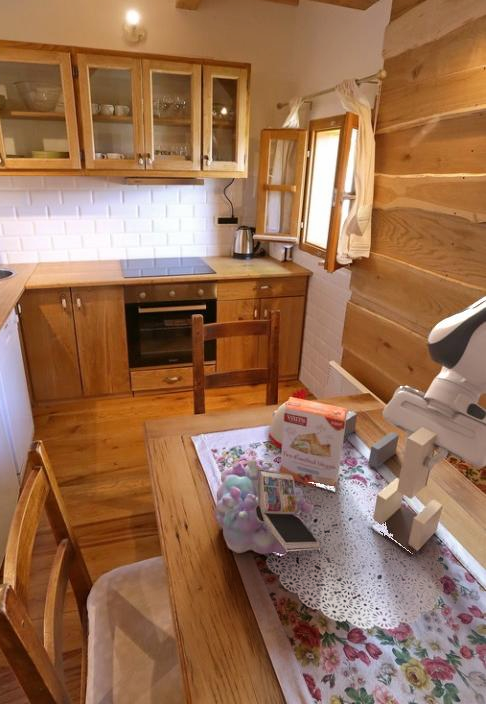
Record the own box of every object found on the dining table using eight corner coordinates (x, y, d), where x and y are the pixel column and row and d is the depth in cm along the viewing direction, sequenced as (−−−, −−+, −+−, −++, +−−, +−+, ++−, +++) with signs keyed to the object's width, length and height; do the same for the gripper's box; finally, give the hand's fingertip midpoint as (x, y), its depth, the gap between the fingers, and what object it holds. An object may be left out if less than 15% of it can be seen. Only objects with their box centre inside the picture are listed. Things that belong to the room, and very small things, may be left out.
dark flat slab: (435, 531, 88) (436, 526, 87) (411, 557, 82) (412, 552, 81) (395, 506, 94) (396, 501, 94) (371, 528, 88) (372, 523, 88)
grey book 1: (355, 430, 121) (357, 413, 119) (334, 443, 115) (336, 426, 113) (349, 427, 123) (351, 410, 121) (328, 440, 117) (330, 422, 115)
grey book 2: (395, 453, 112) (399, 435, 110) (375, 468, 106) (378, 449, 104) (388, 449, 113) (392, 431, 111) (368, 464, 107) (371, 445, 105)
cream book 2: (436, 530, 86) (443, 505, 84) (417, 551, 81) (423, 524, 79) (427, 524, 88) (433, 499, 85) (408, 544, 83) (413, 518, 80)
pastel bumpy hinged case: (217, 469, 99) (211, 441, 85) (306, 468, 98) (315, 440, 84) (215, 565, 86) (208, 551, 72) (317, 566, 85) (330, 552, 71)
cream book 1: (400, 507, 92) (405, 482, 90) (381, 525, 87) (385, 499, 85) (392, 501, 93) (397, 477, 91) (372, 519, 89) (377, 494, 86)
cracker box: (278, 478, 102) (283, 407, 95) (284, 463, 108) (289, 395, 100) (335, 494, 98) (345, 420, 90) (338, 477, 103) (348, 406, 95)
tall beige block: (426, 485, 85) (438, 433, 80) (411, 499, 81) (422, 445, 77) (412, 476, 87) (423, 425, 82) (396, 490, 83) (407, 437, 79)
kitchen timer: (327, 438, 118) (332, 393, 113) (296, 458, 109) (300, 411, 104) (290, 417, 128) (293, 375, 123) (259, 434, 119) (261, 390, 114)
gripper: (396, 377, 89) (365, 431, 87) (502, 420, 74) (467, 486, 72) (404, 388, 93) (374, 440, 91) (505, 431, 78) (472, 494, 76)
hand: (416, 461), depth 81 cm, fingers closed on tall beige block, 3 cm apart
